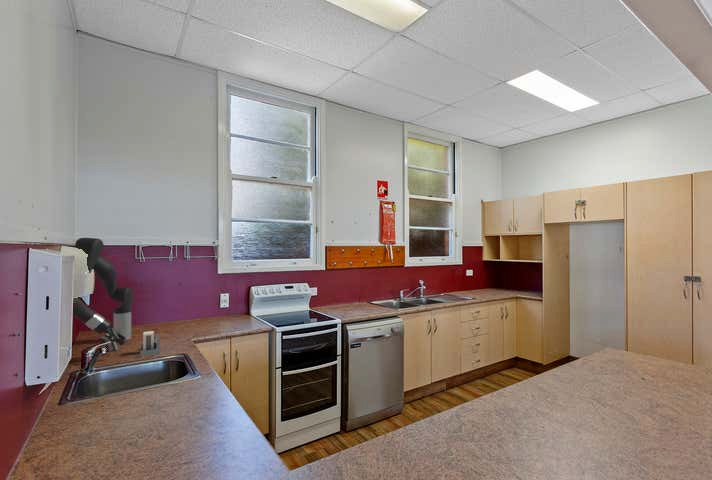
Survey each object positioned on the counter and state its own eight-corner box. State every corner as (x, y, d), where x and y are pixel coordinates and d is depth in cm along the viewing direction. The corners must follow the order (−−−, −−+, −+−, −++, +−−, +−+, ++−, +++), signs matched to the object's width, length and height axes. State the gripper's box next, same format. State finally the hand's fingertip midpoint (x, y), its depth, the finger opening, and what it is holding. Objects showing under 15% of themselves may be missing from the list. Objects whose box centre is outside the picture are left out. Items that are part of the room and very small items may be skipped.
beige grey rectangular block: (143, 351, 196) (143, 332, 196) (153, 349, 199) (153, 330, 198) (143, 354, 192) (143, 334, 191) (153, 352, 194) (153, 333, 194)
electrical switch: (118, 350, 197) (116, 334, 196) (107, 353, 193) (106, 337, 192) (110, 347, 202) (109, 331, 201) (100, 350, 198) (98, 334, 197)
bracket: (141, 349, 200) (141, 335, 199) (159, 346, 204) (159, 333, 204) (140, 356, 187) (140, 342, 187) (159, 354, 192) (159, 339, 192)
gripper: (102, 321, 178) (129, 339, 184) (105, 315, 191) (130, 333, 197) (89, 332, 176) (117, 351, 182) (93, 326, 188) (119, 343, 194)
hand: (123, 341), depth 189 cm, fingers open, 8 cm apart
